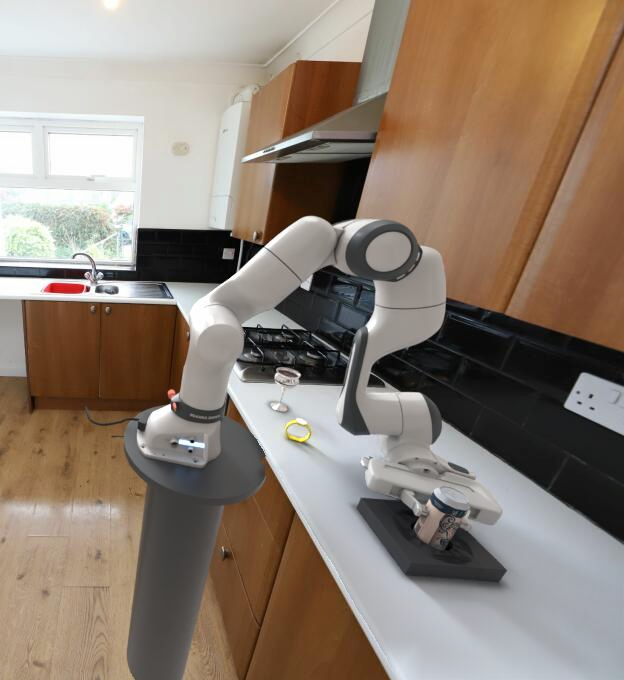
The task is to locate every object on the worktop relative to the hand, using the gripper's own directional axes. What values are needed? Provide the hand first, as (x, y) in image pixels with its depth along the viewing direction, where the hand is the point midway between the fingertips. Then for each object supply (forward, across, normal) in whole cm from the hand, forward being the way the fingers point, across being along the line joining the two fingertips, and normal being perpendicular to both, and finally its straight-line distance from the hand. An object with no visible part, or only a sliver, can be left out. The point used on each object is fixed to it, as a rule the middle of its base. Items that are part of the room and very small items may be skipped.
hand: (443, 520), depth 62 cm
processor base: (-2, 0, +8) cm, 8 cm away
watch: (-25, -21, +8) cm, 34 cm away
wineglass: (-41, -25, +8) cm, 48 cm away
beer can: (-1, 0, +7) cm, 7 cm away
